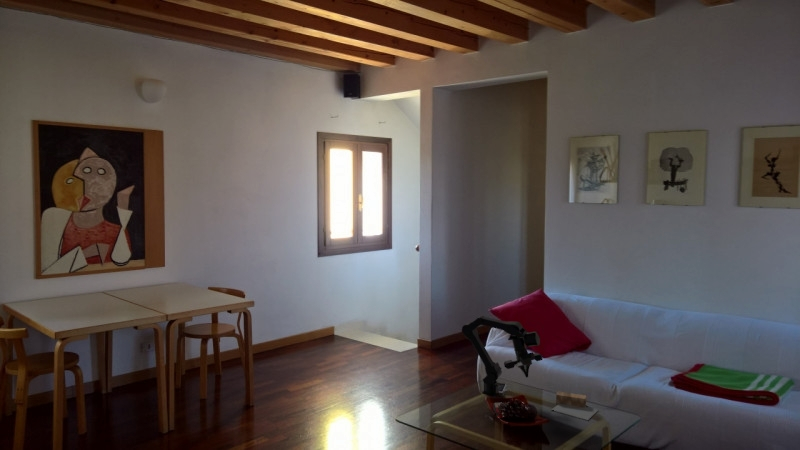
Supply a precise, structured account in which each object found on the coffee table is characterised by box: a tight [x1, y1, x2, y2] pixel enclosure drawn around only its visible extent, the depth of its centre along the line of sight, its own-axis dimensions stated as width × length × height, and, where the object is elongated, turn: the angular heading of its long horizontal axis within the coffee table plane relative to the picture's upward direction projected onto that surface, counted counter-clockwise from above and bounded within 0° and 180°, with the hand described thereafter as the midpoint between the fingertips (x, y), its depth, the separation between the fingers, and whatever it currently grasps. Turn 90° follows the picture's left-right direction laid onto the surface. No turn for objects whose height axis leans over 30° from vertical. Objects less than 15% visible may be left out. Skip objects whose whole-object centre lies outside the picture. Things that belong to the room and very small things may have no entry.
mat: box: [551, 404, 599, 422], centre depth 288 cm, size 18×14×1 cm
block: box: [555, 391, 587, 408], centre depth 294 cm, size 4×4×14 cm
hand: (526, 377), depth 299 cm, fingers closed
